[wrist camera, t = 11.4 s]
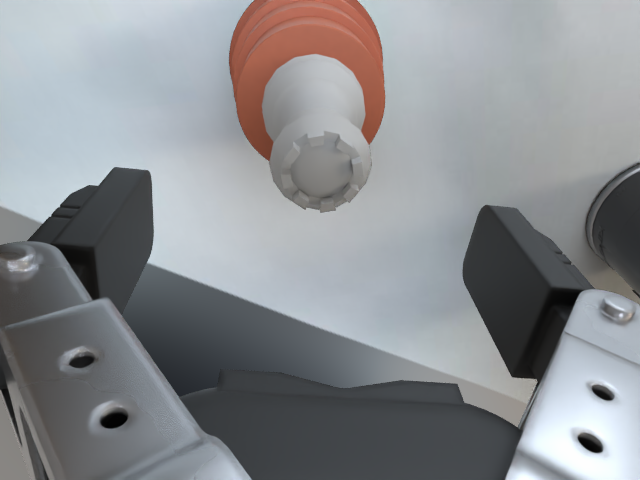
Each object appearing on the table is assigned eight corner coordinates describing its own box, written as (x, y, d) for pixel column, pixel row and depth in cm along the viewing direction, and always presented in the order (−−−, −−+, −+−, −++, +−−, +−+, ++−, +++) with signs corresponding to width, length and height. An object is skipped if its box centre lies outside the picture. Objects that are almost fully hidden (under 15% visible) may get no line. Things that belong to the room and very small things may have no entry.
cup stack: (336, -54, 29) (359, -55, 19) (396, 84, 33) (441, 143, 23) (207, 24, 31) (165, 60, 21) (279, 146, 35) (274, 226, 25)
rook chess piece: (310, 171, 24) (317, 263, 17) (241, 102, 22) (217, 173, 15) (383, 107, 22) (424, 178, 15) (316, 27, 21) (327, 68, 14)
